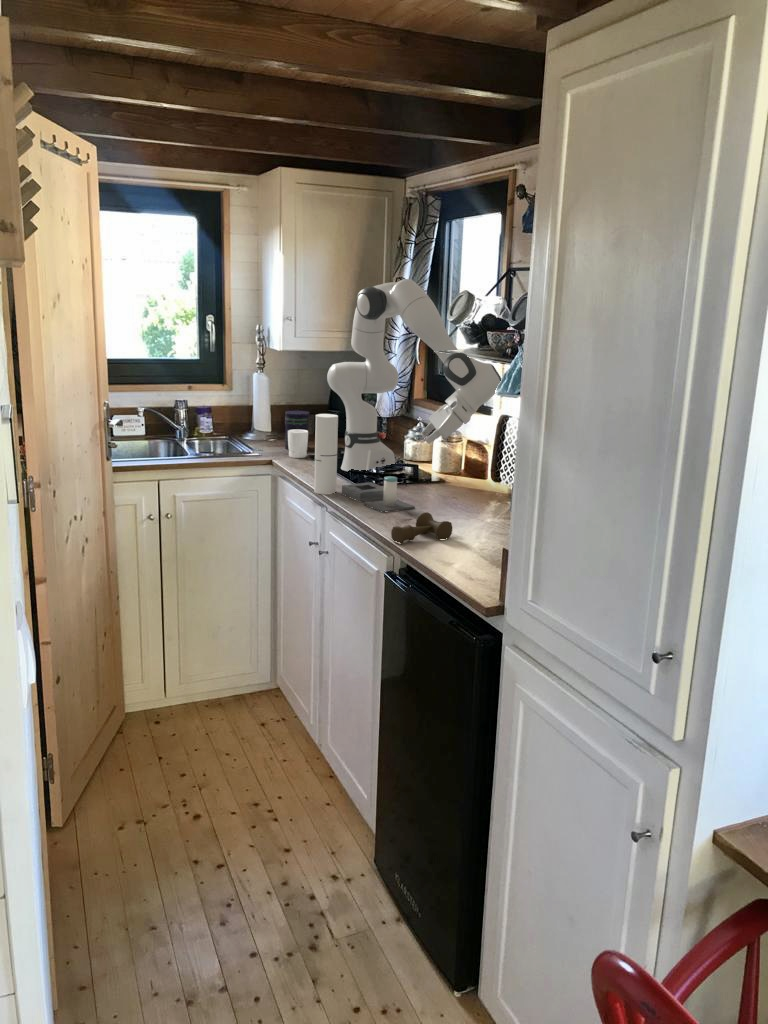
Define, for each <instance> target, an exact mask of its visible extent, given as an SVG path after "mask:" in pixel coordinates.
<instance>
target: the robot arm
mask: <svg viewBox="0 0 768 1024" xmlns="http://www.w3.org/2000/svg"><path fill="white" fill-rule="evenodd" d="M355 301H356V302H355V303H356V304H355V305H356V306H355V307H356V308H355V309H354V310H355V311H354V316H353V322H352V329H351V330H352V331H351V341H350V343H351V348H352V350H353V351H354V352H355V353H356V354H358V355H359V356H361V357H363V358H365V361H363V362H362V361H342V362H338V363H333V364H331V366H330V367H329V369H328V372H327V376H326V380H327V384H328V386H329V387H330V389H331V390H332V391H333V392H334V393H336V394H337V395H338V397H340V399H341V401H342V403H343V405H344V408H345V417H346V419H345V421H346V424H345V425H346V426H345V427H346V429H345V432H344V446H345V447H344V453H343V459H342V463H341V466H340V469H341V470H342V471H344V472H348V471H349V470H351V469H354V470H359V471H361V470H366V471H367V470H369V469H373V468H376V467H382V466H386V465H391V464H395V463H396V458H395V453H394V451H393V450H392V449H390V448H389V447H388V446H386V445H385V444H384V443H383V442H382V441H381V439H385V438H386V437H387V434H386V433H385V432H379V431H378V430H377V427H378V411H377V409H376V408H375V407H374V406H373V405H372V404H370V403H369V402H367V401H365V400H363V398H362V394H383V393H384V394H385V393H389V392H393V391H394V390H395V389H396V388H397V387H398V384H399V380H400V378H399V377H400V375H399V372H398V369H397V368H396V366H395V365H394V364H393V363H392V362H390V361H389V359H388V358H387V357H386V354H385V352H384V351H385V350H384V340H385V339H384V338H385V330H386V329H385V327H386V319H390V318H393V317H397V316H399V318H401V320H402V321H403V323H404V324H405V325H406V327H407V328H408V329H409V330H410V331H411V332H412V333H413V334H414V335H416V337H418V338H419V339H420V340H421V341H422V342H423V343H425V344H426V345H427V346H428V347H429V348H430V349H431V350H432V351H434V352H435V354H436V355H437V356H438V358H439V360H440V361H441V362H442V364H443V366H442V371H443V374H444V376H445V378H446V380H447V382H449V384H450V385H451V386H452V387H453V389H454V392H453V393H452V394H451V395H450V396H448V397H447V398H446V399H445V400H444V402H445V404H443V405H441V406H440V408H438V409H437V410H435V411H434V412H433V413H432V414H431V415H430V416H429V418H428V420H429V421H430V422H429V423H428V424H427V425H426V427H424V429H423V430H422V431H421V432H420V434H421V435H422V436H423V438H424V440H425V441H426V443H427V444H428V445H430V444H431V443H432V442H434V441H435V440H438V439H439V438H440V437H442V438H443V439H445V438H448V437H449V436H451V435H452V434H453V433H455V432H456V431H457V430H459V429H460V428H461V427H462V425H466V424H468V423H469V422H470V421H471V419H472V416H473V415H474V414H475V413H476V412H477V411H478V409H479V408H480V407H481V406H482V405H484V404H486V403H488V401H490V400H491V399H492V397H494V396H495V395H496V393H495V390H496V388H497V386H498V384H499V383H500V381H501V379H502V377H501V375H500V374H499V372H498V371H497V369H496V367H495V366H494V365H493V364H492V363H490V362H489V363H487V362H482V361H479V360H477V359H475V358H473V357H471V358H469V357H470V356H469V357H467V355H468V354H466V353H464V352H460V353H454V354H446V353H439V351H440V350H458V351H459V349H458V348H457V346H455V344H454V342H453V341H452V339H451V337H450V335H449V334H448V331H447V328H446V327H445V324H444V321H443V319H442V317H441V315H440V312H439V310H438V309H437V307H436V305H435V303H434V301H433V300H432V299H431V297H430V296H429V295H428V293H426V291H425V290H424V289H423V288H422V287H421V286H420V285H419V284H418V283H416V282H415V281H414V280H413V279H409V278H404V279H401V280H399V281H397V282H396V281H395V282H394V281H393V282H391V281H390V282H384V283H381V284H377V285H374V286H368V287H365V288H363V289H361V290H359V292H358V293H357V296H356V300H355ZM436 351H438V352H436ZM432 431H433V432H432ZM431 432H432V433H431ZM430 433H431V434H430ZM429 434H430V435H429Z"/></svg>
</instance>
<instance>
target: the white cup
mask: <svg viewBox="0 0 768 1024" xmlns="http://www.w3.org/2000/svg"><path fill="white" fill-rule="evenodd" d="M308 435H309V430H308V431H307V430H300V429H294V430H288V448H289V450H288V457H290V458H293V459H303V458H306V457H307V452H308V450H307V444H309V443H308V440H309V439H308Z"/></svg>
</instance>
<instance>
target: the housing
mask: <svg viewBox="0 0 768 1024" xmlns="http://www.w3.org/2000/svg"><path fill="white" fill-rule="evenodd" d="M342 494H344V495H346V496H345V497H347V496H348V497H347V498H349V497H351V498H353V499H352V500H354V499H356V500H358V501H366V502H370V501H369V500H374V501H382V500H383V495H384V486H381V485H380V484H377V483H374V482H371V481H370V482H369V481H367V482H360V483H359V482H358V483H352V484H343V485H341V495H342ZM344 495H343V496H344ZM351 498H350V499H351ZM356 500H355V501H356ZM358 501H357V502H358Z"/></svg>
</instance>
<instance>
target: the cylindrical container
mask: <svg viewBox="0 0 768 1024" xmlns="http://www.w3.org/2000/svg"><path fill="white" fill-rule="evenodd" d="M314 427H315V429H314V430H315V435H314V436H315V437H314V438H315V439H314V444H315V445H314V485H313V486H314V489H313V490H314V493H315V494H318V495H319V494H320V495H326V494H325V493H334V494H336V493H337V478H338V477H337V472H338V471H337V470H338V431H339V429H338V428H339V415H337V414H332V413H318V414H315V426H314ZM335 492H336V493H335Z"/></svg>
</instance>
